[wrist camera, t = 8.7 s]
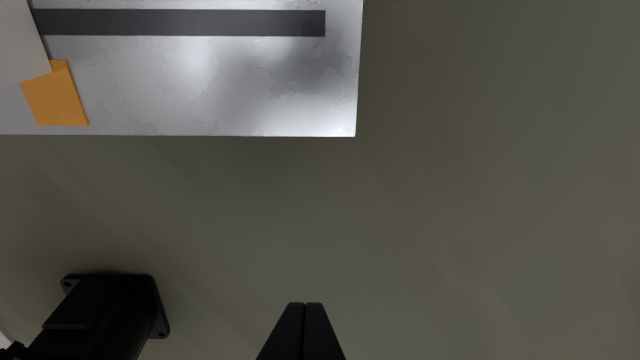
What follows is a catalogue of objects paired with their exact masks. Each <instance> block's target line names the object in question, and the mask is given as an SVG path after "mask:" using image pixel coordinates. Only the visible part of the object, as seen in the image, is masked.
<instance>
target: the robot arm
mask: <svg viewBox="0 0 640 360" xmlns="http://www.w3.org/2000/svg"><path fill="white" fill-rule="evenodd" d="M60 283H61V286H62V288H63V290H64V292H65V293H66V295H67V296H66V297H65V299H64V300H63V301H62V302H61V303H60V304H59V306H58V307H57V308H56V309H55V310H54V312H53V313H52V314H51V315H50V316H49V318H48V319H47V320H46V321H45V322H44V324H43V325H42V329H43V330H42V331H41V332H40V334H39V335H38V336H37V337H36V338H35V340H34V341H33V342H32V343H31V344H30V346H29V347H28V348H26V347H24V344H22V343H20V342H18V341H16V340H15V341H14V342H13V343H12V344H11V345H10V346H9V347H8V348H7V349H4V348H2V349H0V360H137V359H138V357H139V355H140V353H141V351H142V349H143V347H144V345H145V343H146V341H147V339H165V338H167V337H168V335H169V333H170V329H169V326H168V323H167V320H166V317H165V314H164V311H163V308H162V305H161V302H160V299H159V296H158V293H157V290H156V287H155V284H154V281H153V279H152V278H151V277H148V276H105V275H67V276H65V277H64V278H63V279H62V280H61V282H60ZM256 360H346V358H345V356H344V354H343V351H342V349H341V347H340V344H339V342H338V340H337V337H336V335H335V333H334V330H333V328H332V326H331V323H330V321H329V319H328V316H327V314H326V312H325V309H324V307H323V305H322V304H321V303H319V302H308V303H306V305H305V304H304V303H303V302H290V303H289V304H288V305H287V306H286V308H285V310H284V312H283V313H282V315H281V317H280V318H279V320H278V322H277V324H276V325H275V327H274V329H273V330H272V332H271V334H270V336H269V337H268V339H267V341H266V342H265V344H264V346H263V348H262V349H261V351H260V353H259V355H258V356H257V358H256Z"/></svg>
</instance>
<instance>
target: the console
mask: <svg viewBox="0 0 640 360" xmlns="http://www.w3.org/2000/svg"><path fill="white" fill-rule="evenodd" d="M26 1H27V4H28V7H29V9H30V12H31V15H32V17H33V20H34V23H35V25H36V28H37V31H38V33H39V36H40V39H41V41H42V44H43V47H44V49H45V52H46V55H47V57H48V60H49V63H50V65H51V68H52V71H53V72H52V73H49V74H46V75H42V76H39V77H36V78H33V79H29V80H26V81H23V82H19V83H16V84H13V85H10V86H6V87H3V88H0V134H40V135H181V136H322V137H355V129H356V112H357V95H358V78H359V61H360V44H361V27H362V11H363V0H26Z"/></svg>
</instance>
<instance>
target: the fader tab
mask: <svg viewBox="0 0 640 360" xmlns="http://www.w3.org/2000/svg"><path fill="white" fill-rule="evenodd" d="M52 72H53V71H52V68H51V65H50V63H49V60H48V57H47V55H46V52H45V49H44V47H43V44H42V41H41V39H40V36H39V33H38V31H37V28H36V25H35V23H34V20H33V17H32V15H31V12H30V9H29V7H28V4H27V1H26V0H0V88H3V87H6V86H10V85H13V84H16V83H19V82H23V81H26V80H29V79H33V78H36V77H39V76H42V75H46V74H49V73H52Z"/></svg>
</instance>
